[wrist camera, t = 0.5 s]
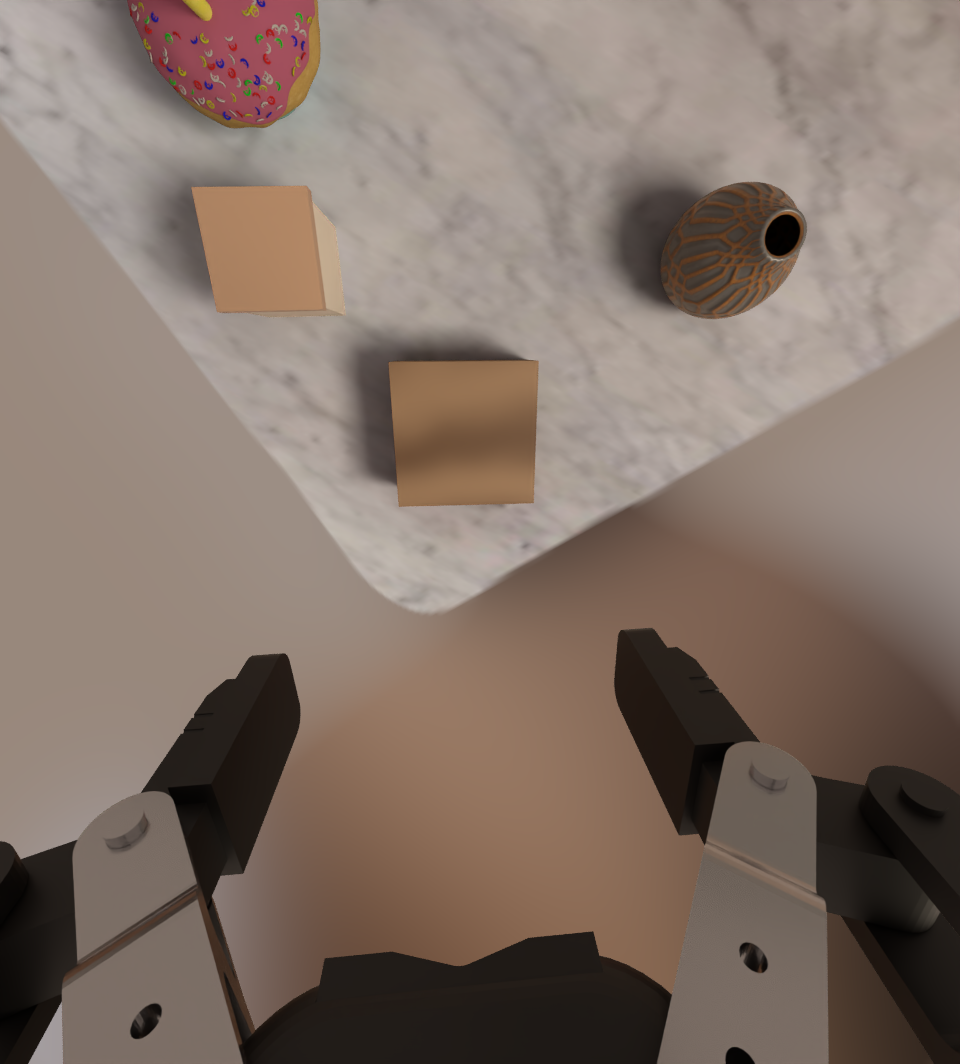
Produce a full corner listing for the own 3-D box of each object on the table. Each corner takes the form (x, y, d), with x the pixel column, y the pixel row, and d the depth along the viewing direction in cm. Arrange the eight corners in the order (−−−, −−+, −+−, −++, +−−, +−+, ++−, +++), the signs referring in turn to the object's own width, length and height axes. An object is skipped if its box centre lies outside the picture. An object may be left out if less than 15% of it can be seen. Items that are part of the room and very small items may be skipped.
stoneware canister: (249, 225, 29) (191, 187, 22) (338, 223, 29) (306, 186, 23) (266, 320, 31) (217, 311, 24) (349, 318, 31) (323, 309, 25)
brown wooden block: (396, 360, 32) (388, 362, 28) (525, 359, 33) (538, 360, 28) (405, 486, 36) (398, 506, 31) (522, 483, 36) (533, 503, 32)
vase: (668, 341, 33) (740, 337, 25) (629, 243, 31) (695, 203, 22) (760, 287, 32) (867, 264, 24) (727, 181, 30) (833, 116, 22)
